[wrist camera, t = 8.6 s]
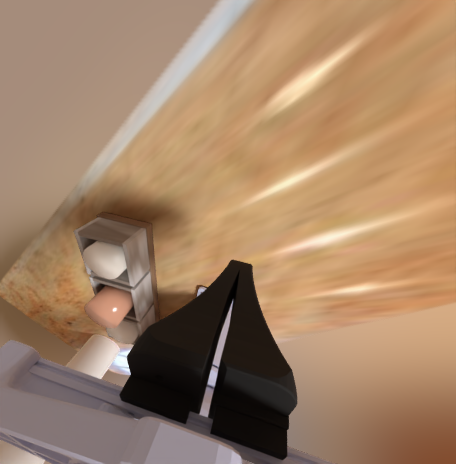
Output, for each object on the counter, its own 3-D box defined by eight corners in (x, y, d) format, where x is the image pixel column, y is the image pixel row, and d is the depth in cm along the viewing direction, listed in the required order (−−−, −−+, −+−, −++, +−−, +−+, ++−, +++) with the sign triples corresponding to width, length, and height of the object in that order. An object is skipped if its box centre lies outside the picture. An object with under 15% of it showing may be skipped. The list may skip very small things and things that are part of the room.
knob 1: (142, 262, 27) (123, 283, 23) (112, 254, 27) (88, 273, 24) (139, 233, 24) (116, 252, 21) (105, 225, 25) (78, 242, 22)
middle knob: (139, 307, 29) (121, 332, 26) (111, 298, 29) (89, 322, 26) (136, 284, 26) (115, 309, 23) (105, 276, 27) (80, 298, 24)
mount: (160, 324, 36) (145, 349, 32) (125, 313, 36) (107, 336, 33) (151, 223, 25) (128, 243, 21) (102, 212, 25) (71, 228, 22)
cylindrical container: (110, 335, 42) (-60, 555, 21) (125, 355, 45) (-10, 562, 24) (85, 332, 44) (-93, 529, 23) (100, 351, 48) (-43, 539, 26)
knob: (150, 324, 34) (136, 347, 31) (126, 317, 35) (109, 338, 31) (148, 307, 32) (132, 330, 28) (122, 299, 32) (103, 320, 29)
